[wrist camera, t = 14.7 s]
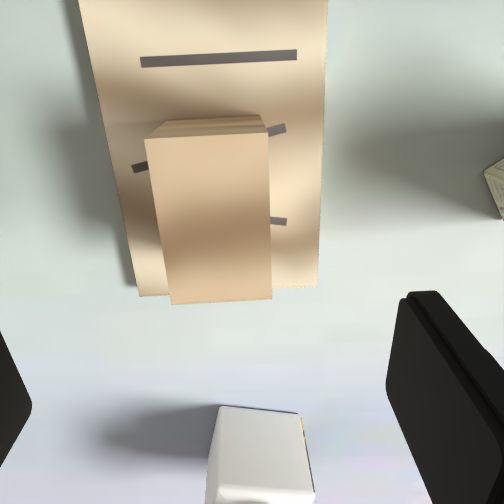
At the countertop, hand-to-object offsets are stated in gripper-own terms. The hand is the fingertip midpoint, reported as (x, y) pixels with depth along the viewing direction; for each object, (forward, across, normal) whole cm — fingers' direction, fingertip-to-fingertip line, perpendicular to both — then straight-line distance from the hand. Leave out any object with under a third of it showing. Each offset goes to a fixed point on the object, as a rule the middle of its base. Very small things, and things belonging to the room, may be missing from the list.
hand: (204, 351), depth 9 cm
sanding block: (+15, 0, +1) cm, 15 cm away
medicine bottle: (+16, -1, +24) cm, 29 cm away
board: (+16, 0, -4) cm, 17 cm away
